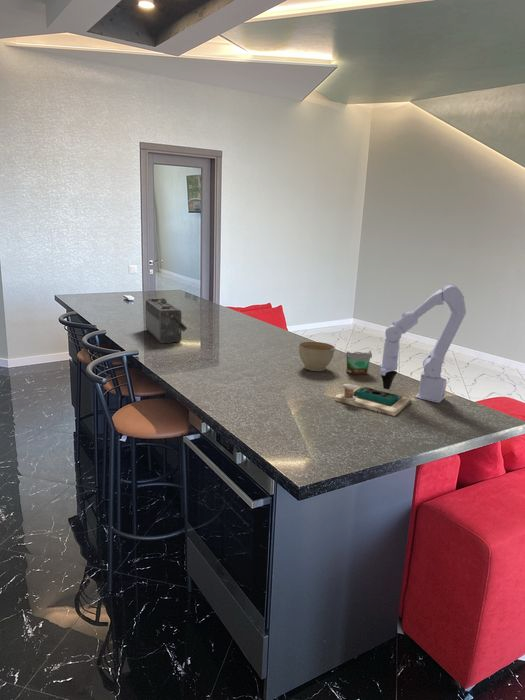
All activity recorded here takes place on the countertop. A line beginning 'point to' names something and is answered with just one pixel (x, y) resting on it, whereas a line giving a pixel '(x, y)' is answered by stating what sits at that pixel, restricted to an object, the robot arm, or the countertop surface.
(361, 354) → the food container
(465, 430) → the countertop surface
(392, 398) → the digital multimeter
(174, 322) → the radio
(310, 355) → the planter bowl
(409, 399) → the notched board
